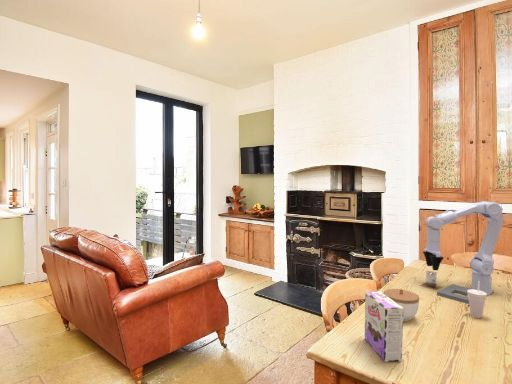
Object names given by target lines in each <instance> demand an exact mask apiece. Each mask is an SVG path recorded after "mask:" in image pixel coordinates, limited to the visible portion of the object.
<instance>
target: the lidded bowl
mask: <svg viewBox="0 0 512 384" xmlns="http://www.w3.org/2000/svg"><path fill="white" fill-rule="evenodd" d="M383 293H384V294H385V295H386V296H388V297H389V298H390V299H392V300H393V301H394V302H396V303H397V304H398V305H400V306H402V307H403V308H404V309H403V322H409V321H410V320H411V319H413V318H414V317H415V316H416V315H417V314H418V310H419V303H420V302H419V301H420V296H419V295H418V294H417V293H416V292H413V291H409V290H406V289H402V288H389V289H388V288H387V289H385V290H384V291H383Z"/></svg>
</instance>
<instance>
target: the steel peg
mask: <svg viewBox="0 0 512 384" xmlns="http://www.w3.org/2000/svg"><path fill="white" fill-rule="evenodd" d="M437 273H438V272H436V271H434V270H433V271H432V270H427V271H426V277H425V280H426V281H425V283H426V286H427V287H432V288H435V287H436V285H437Z"/></svg>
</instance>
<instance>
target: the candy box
mask: <svg viewBox="0 0 512 384" xmlns="http://www.w3.org/2000/svg"><path fill="white" fill-rule="evenodd" d="M364 296H365V298H364V300H365V303H364V304H365V308H364V309H365V310H364V340H365V341H366V342H367V343H368V344H369V346H370V347H371V348H372V349H373V350H374V351H375V353H376V354H377V355H378V356H379V357H380V359H381V360H382V361H383V362H385V363H392V362H395V363H396V362H398V363H399V362H402V361H403V360H402V358H403V333H404V332H403V330H404V328H403V327H404V321H403V309H404V308H403V307H402V306H400V305H398V304H397V303H396V302H394V301H393V300H392V299H390V298H389V297H388V296H386V295H385V294H384V292H382V291H381V290H377V291H376V290H374V291H365V295H364Z"/></svg>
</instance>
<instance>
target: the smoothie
mask: <svg viewBox="0 0 512 384" xmlns="http://www.w3.org/2000/svg"><path fill="white" fill-rule="evenodd" d="M479 287H480V281H478V290H473V289H472V288H471V289H470V290H467V293H468V298H469V304H468V305H469V306H468V307H469V313H470V316H471V317H473V318H476V319H482V317H483V313H484V307H485V302H486V298H487V297H488V295H487V294H486V293H487V292H486V293H485V292H483V291H480V290H479Z"/></svg>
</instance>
